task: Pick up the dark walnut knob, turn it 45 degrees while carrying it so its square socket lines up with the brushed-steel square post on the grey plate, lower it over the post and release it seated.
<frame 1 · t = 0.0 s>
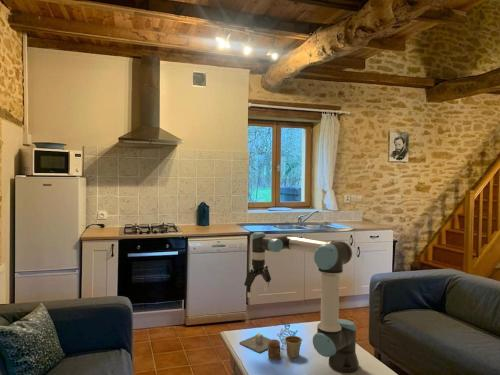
hand: (257, 295, 215), 28 cm above the table, fingers open, 13 cm apart
post plate: (259, 344, 213), on the table
flower pot: (293, 355, 200), on the table
knob: (274, 356, 198), on the table
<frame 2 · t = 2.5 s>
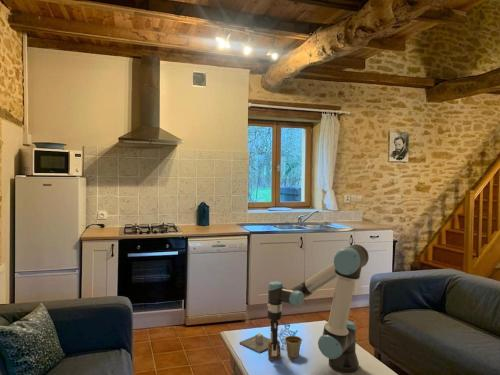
hand: (273, 349, 198), 4 cm above the table, fingers open, 13 cm apart
nothing on the table moved.
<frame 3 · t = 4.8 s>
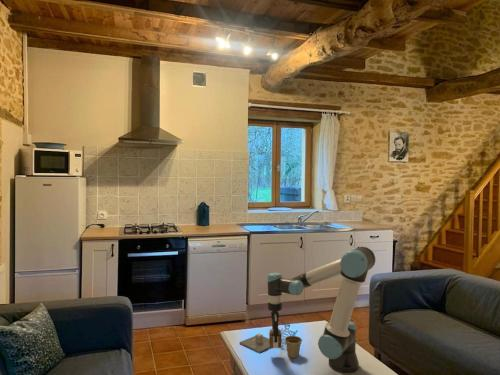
hand: (275, 344, 198), 7 cm above the table, fingers closed on knob, 6 cm apart
knob: (275, 345, 198), point 6 cm above the table, touching gripper
everything else where it was.
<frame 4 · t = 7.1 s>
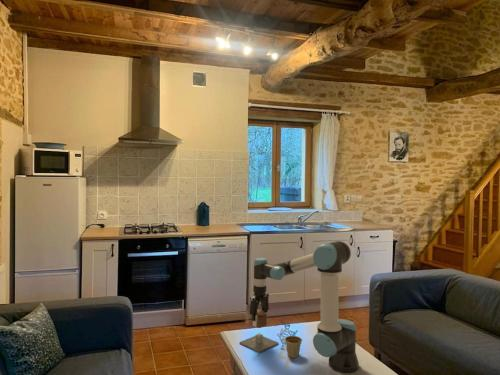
hand: (258, 324, 213), 11 cm above the table, fingers closed on knob, 6 cm apart
knob: (258, 324, 213), point 11 cm above the table, touching gripper
everything else where it was.
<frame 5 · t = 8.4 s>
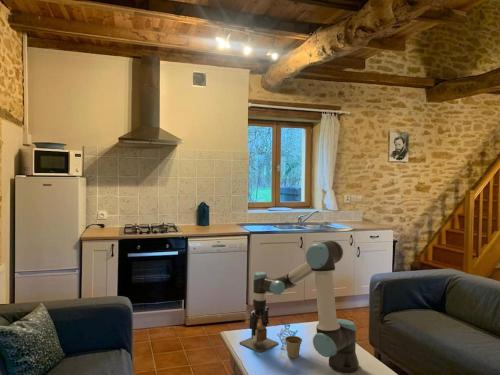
hand: (259, 338, 213), 3 cm above the table, fingers closed on knob, 6 cm apart
knob: (259, 339, 213), point 3 cm above the table, touching gripper
everything else where it was.
when the fingers open (2 cm above the table, at t = 9.6 s): knob drops 1 cm, resting on post plate.
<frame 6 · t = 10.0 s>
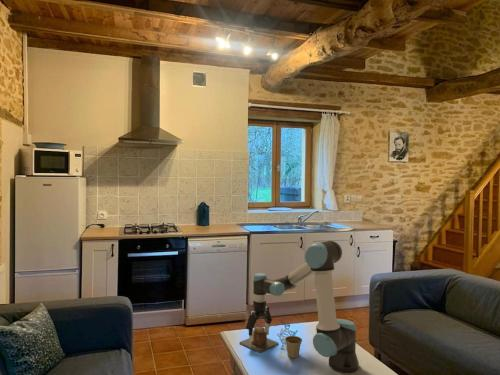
hand: (259, 337, 213), 4 cm above the table, fingers open, 12 cm apart
knob: (259, 342, 213), point 1 cm above the table, touching post plate
everything else where it was.
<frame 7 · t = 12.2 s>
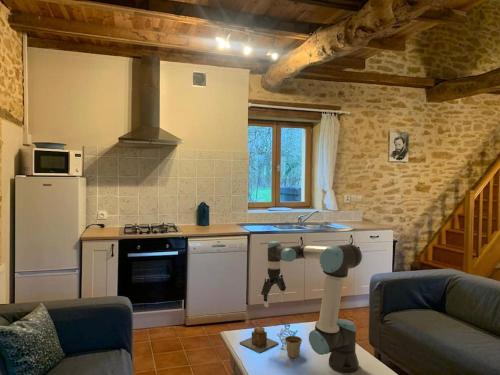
hand: (273, 304, 216), 23 cm above the table, fingers open, 13 cm apart
nothing on the table moved.
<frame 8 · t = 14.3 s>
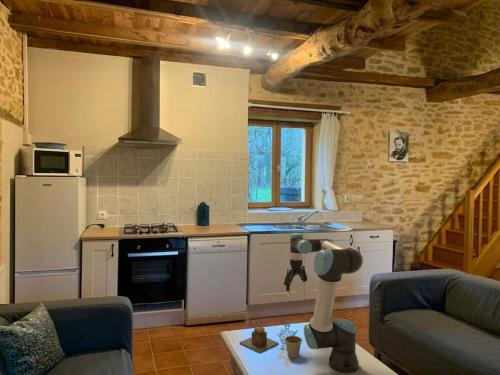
hand: (295, 294, 222), 27 cm above the table, fingers open, 13 cm apart
nothing on the table moved.
at the end: knob 0.0 cm off-centre on the post plate, point 1.0 cm above the post plate's base; knob tilted 0°; the gripper is holding nothing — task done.
